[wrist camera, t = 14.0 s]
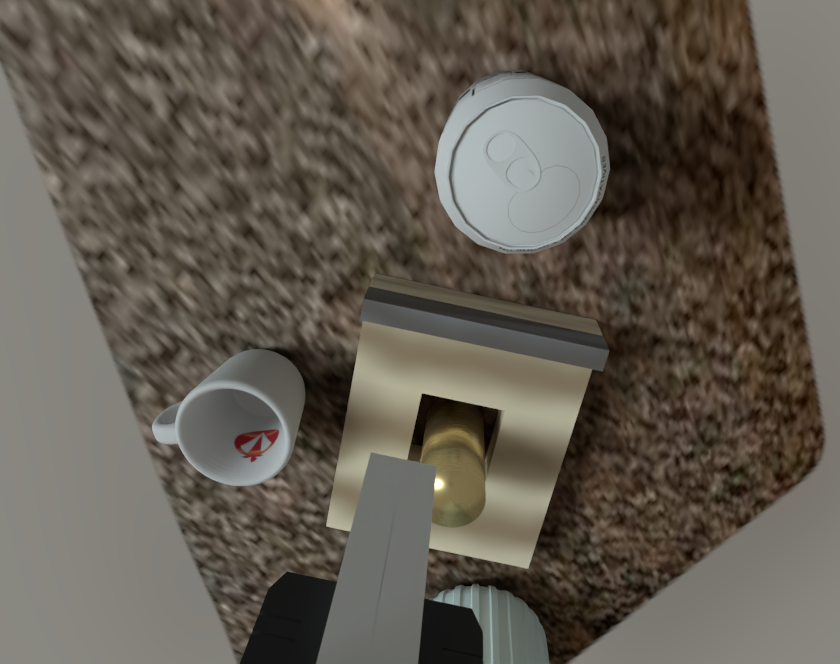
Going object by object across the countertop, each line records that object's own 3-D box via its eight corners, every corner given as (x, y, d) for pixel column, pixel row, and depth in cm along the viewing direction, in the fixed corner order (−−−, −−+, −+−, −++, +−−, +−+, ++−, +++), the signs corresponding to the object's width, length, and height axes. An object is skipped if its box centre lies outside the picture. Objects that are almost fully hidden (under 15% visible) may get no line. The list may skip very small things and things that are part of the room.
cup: (197, 439, 57) (155, 498, 49) (166, 348, 54) (117, 396, 46) (328, 422, 55) (305, 481, 48) (303, 328, 52) (275, 374, 45)
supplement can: (599, 142, 46) (652, 183, 32) (499, 224, 48) (509, 295, 34) (519, 40, 44) (539, 37, 30) (420, 131, 46) (396, 167, 33)
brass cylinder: (432, 390, 53) (423, 462, 44) (489, 402, 53) (492, 476, 44) (421, 440, 55) (410, 520, 46) (476, 452, 55) (477, 533, 46)
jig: (375, 273, 50) (363, 298, 45) (596, 319, 50) (609, 350, 45) (333, 503, 58) (319, 547, 53) (525, 543, 58) (530, 591, 53)
